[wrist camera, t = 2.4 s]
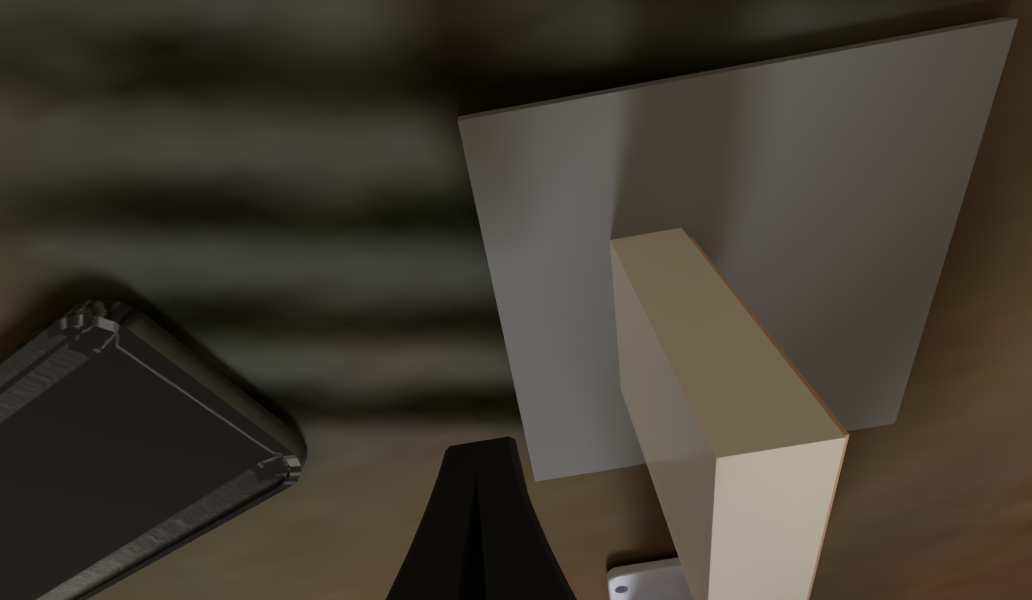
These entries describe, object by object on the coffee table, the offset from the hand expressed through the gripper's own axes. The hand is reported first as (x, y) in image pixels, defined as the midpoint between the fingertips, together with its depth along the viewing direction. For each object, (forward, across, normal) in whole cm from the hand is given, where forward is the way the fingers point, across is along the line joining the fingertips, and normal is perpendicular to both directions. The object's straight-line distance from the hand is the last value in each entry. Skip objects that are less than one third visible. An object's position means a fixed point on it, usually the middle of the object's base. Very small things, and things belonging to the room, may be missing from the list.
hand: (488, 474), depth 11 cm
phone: (+6, +14, +3) cm, 16 cm away
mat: (+5, -7, 0) cm, 8 cm away
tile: (+4, -4, 0) cm, 6 cm away
